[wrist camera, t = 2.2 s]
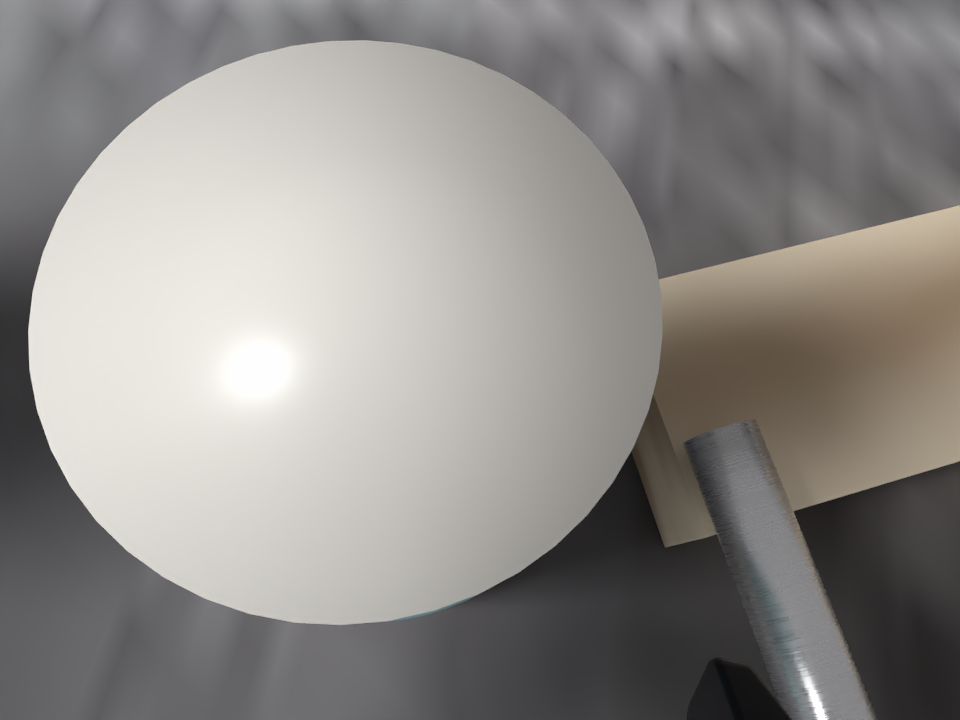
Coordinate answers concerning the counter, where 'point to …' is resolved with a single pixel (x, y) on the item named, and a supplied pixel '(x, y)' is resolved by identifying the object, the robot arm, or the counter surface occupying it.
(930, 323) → the light wood flat tray
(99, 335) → the white teal rounded cylinder
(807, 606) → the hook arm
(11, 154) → the counter surface
